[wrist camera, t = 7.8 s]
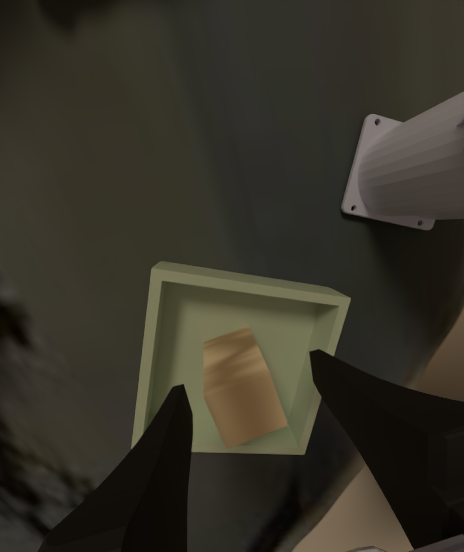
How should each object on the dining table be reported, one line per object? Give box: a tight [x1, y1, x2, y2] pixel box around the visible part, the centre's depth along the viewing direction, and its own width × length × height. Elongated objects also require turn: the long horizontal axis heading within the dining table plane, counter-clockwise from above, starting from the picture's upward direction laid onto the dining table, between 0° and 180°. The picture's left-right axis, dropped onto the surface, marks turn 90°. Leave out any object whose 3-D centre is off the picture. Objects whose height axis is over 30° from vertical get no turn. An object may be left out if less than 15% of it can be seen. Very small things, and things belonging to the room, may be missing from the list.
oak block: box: [204, 326, 288, 449], centre depth 18 cm, size 4×4×7 cm
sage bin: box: [131, 261, 351, 455], centre depth 21 cm, size 16×16×4 cm
